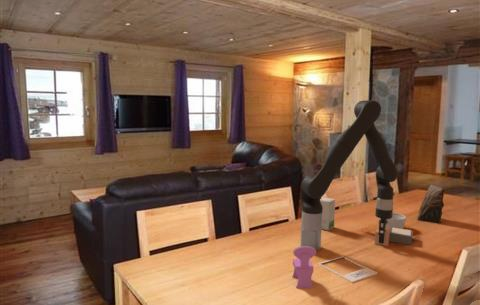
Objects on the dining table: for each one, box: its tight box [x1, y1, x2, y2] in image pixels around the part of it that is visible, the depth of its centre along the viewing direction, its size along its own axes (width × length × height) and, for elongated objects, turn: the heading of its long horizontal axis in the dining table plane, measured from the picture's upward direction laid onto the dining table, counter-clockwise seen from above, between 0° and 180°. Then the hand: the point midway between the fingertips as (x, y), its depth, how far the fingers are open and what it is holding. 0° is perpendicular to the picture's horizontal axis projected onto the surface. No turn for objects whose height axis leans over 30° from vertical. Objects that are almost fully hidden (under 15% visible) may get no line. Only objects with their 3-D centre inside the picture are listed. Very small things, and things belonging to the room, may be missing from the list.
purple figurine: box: [291, 246, 317, 289], centre depth 135 cm, size 8×9×15 cm
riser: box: [389, 227, 414, 246], centre depth 181 cm, size 10×10×4 cm
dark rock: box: [417, 183, 445, 224], centre depth 212 cm, size 13×13×20 cm
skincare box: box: [320, 197, 336, 231], centre depth 196 cm, size 8×7×16 cm
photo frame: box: [317, 255, 378, 284], centre depth 148 cm, size 15×1×18 cm
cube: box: [374, 227, 390, 247], centre depth 176 cm, size 6×6×6 cm
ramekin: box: [379, 212, 407, 229], centre depth 198 cm, size 13×13×7 cm
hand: (382, 240), depth 176 cm, fingers open, 8 cm apart
